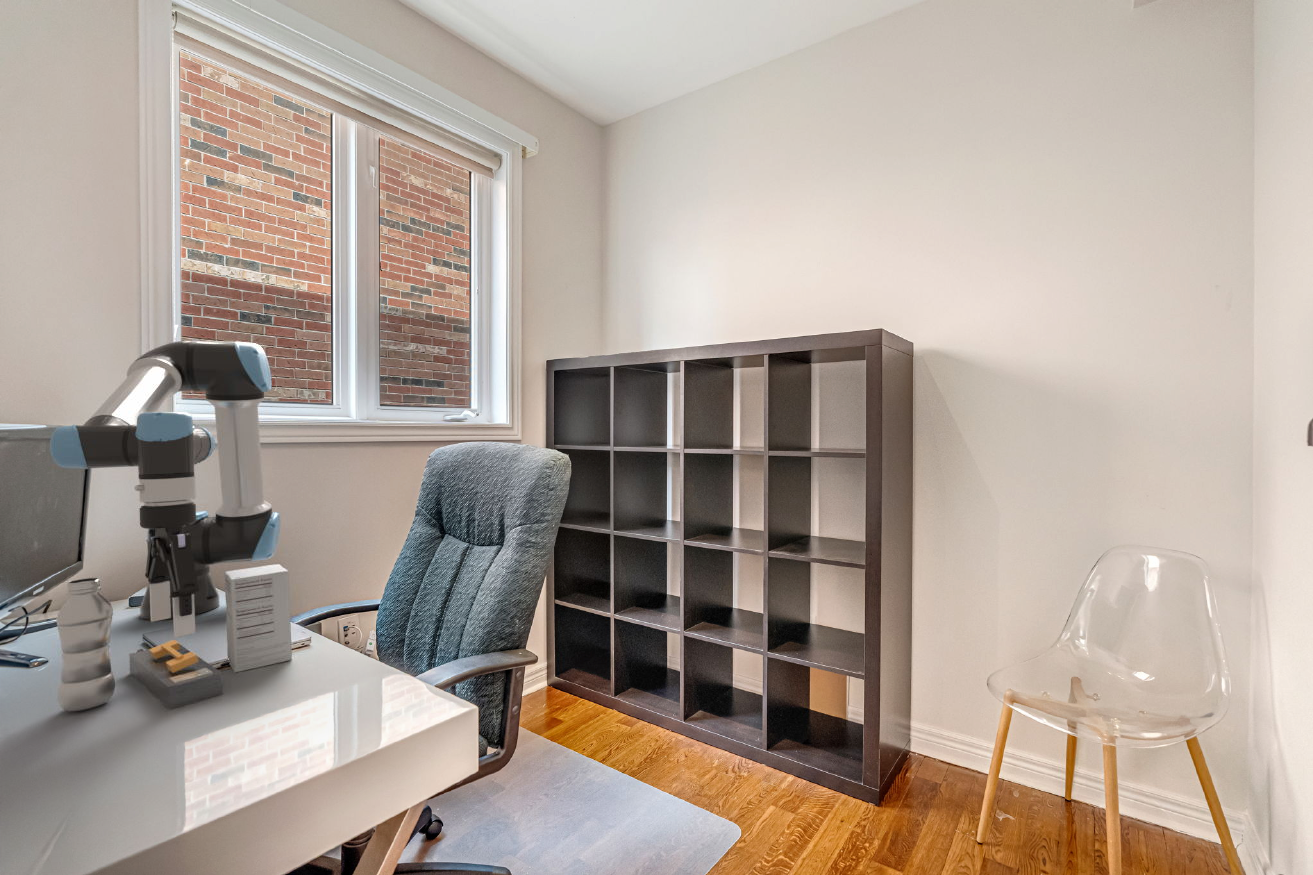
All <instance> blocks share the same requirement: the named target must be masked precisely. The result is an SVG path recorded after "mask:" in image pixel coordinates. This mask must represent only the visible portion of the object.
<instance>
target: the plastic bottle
mask: <svg viewBox="0 0 1313 875" xmlns="http://www.w3.org/2000/svg"><path fill="white" fill-rule="evenodd" d="M100 580H101V579H100V578H99V577H87V578H79V579H73V580H70V581H67V584H66V585H67V586H66V587H67V590H66V595H68V596H69V598H68V599H67V601H65V603H64V604H63V605H62V606H61V608H60V609H59V611H58V613H57V616H56V618H55V620H56V626H57V629H58V630H57V631H58V634H59V638H60V639H59V640H60V643H61V644H60V645H61V653H62V667H61V675H60V676H61V679H60V683H59V688H58V693H57V701H58V705H59V707H60V708H61V709H62V710H64V711H65V712H78V711H79V712H80V711H84V710H88V709H92V708H96V707H98V706H100V705H104V704H105V703H107V702H109V701H110V699H111V698H112V697H113V695H114V694H115V688H116V679H115V676H114V672H113V671H112V665H111V655H110V641H111V640H110V637H111V635H110V634H111V628H112V622H113V615H114V609H113V606H112V604H111V602H110V601H109V600H107V598H105V597H104V596H103V595H102V594H100V593H99V591H100V590H101V589H102V586H101V581H100Z"/></svg>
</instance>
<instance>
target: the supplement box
mask: <svg viewBox="0 0 1313 875" xmlns="http://www.w3.org/2000/svg"><path fill="white" fill-rule="evenodd" d="M289 571H290V570H288V569H286V568H284V567H283V566H282V565H281V564H278V563H277V564H276V563H275V564H269V565H262V566H254V567H249V568H241V569H233V570H227V571H225V572H224V593H225V594H224V595H225V596H224V597H225V605H226V606H225V610H226V617H225V618H226V619H225V620H226V646H227V647H226V648H227V649H226V650H227V659H228V658H229V661H228V663H229V662H230V663H229V665H230V668H232V670H233V673H239V672H243V671H248V670H254V669H256V668H261V667H265V666H269V665H274V664H279V663H284V662H288V661H291V660H293V657H292V655H293V652H292V627H291V626H292V624H291V621H292V620H291V600H290V597H291V594H290V593H291V592H290V572H289Z"/></svg>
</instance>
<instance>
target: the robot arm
mask: <svg viewBox="0 0 1313 875" xmlns="http://www.w3.org/2000/svg"><path fill="white" fill-rule="evenodd" d="M271 390H272V373H271V367H270V364H269V361H268V358H267V355H266V352H265V351H264V349H263V347H261V346H260V345H259V344H257V343H253V342H246V341H245V342H242V341H202V340H200V341H199V340H179V341H174V342H169V343H166V344H163V345H160V346H158V347H156V348H153V349H151V350H149V351H148V352H145V353H144V354H142V355H140V356H139V357H138V358H136V359H135V360H134V361H133V362H132V363H131V364H130V366H129V367H128V369H127V372H126V378H125V380H123V381H122V382H121V384H120V385H119V386H118V387H117V388H116V389H115V391H113V393H112V394H111V395H110V396H109V397H108V398H107V399H106V400H105V401H104V402H103V403H102V404H101V405H100V406H99V408H98V409H97V410H96V411H95V412H94V413H93V415H91V417H90V418H89V419H88V420H87V421H85V423H83V425H79V424H73V425H62V426H59V427H57V428H55V429H54V431H53V432H52V434H51V436H50V439H49V440H50V441H49V451H50V454H51V458H52V460H53V462H54V463H55V464H56V466H58V467H60V468H62V469H63V468H64V469H84V470H88V469H103V468H104V469H106V468H107V469H108V468H127V467H129V468H130V467H137V469H138V484H137V485H135V486H134V490H135V491H136V492H139V493H138V496H139V497H138V498H139V502H140V503H142V504H144V505H142V506H140V507H139V526H140V528H142V529H147V539H146V542H147V555H146V556H147V557H146V568H145V574H144V576H145V578H146V579H147V581H148V583H147V584H148V585H147V588H146V590H145V593H144V596H143V599H142V602H141V604H140V607H139V613H140V616H139V617H140V618H141V619H143V620H148V621H149V620H150V622H157V621H162V620H171V619H173V620H172V622H173V624H172V628H173V637H174V638H177V637H178V638H179V637H182V636H187V635H191V634H195V633H196V618H195V617H196V615H199V614H203V613H207V612H209V611H211V610H214V609H217V608H218V607H219V606H220V595H219V592H218V590H217V588H216V586H215V583H214V581H213V579H212V576H211V573H210V572H211V571H210V565H221V564H222V565H224V564H235V563H247V562H248V563H249V562H251V563H253V562H256V561H262V560H269V559H270V558H271V559H272V557H273V556H274V555H275V554H276V550H277V548H278V544H279V543H278V542H279V538H280V530H281V515H280V513H279V512H276V511H273V506H272V504H271V503H270V502H268V501H267V500H265V498H264V497H265V496H264V493H265V492H264V482H263V481H264V480H263V478H264V477H263V467H262V466H263V465H262V451H261V450H262V449H261V438H260V424H259V423H260V422H259V421H260V419H259V408H258V406H259V405H260V404H261V402H263V401H264V400H265V393H267V392H270V391H271ZM192 391H193V392H204V393H205V400H206V401H207V402H208V403H209V404H211V405H212V406H213V407H214V416H215V417H214V418H215V428H216V441H217V453H218V455H217V456H218V466H219V476H220V478H219V479H220V480H219V481H220V489H221V490H220V492H221V504H220V505H219V507H218V508H217V509H216V510H215V512H214V513H215V516H210V514H209V513H208V511H206V510H202V511H198V510H197V509H196V508H197V505H196V503H195V502H194V501H192V500H195V499H196V498H197V497H196V496H197V494H196V492H197V491H196V475H195V465H197V464H200V463H201V462H204V461H205V460H207V459H209V457H211V455H212V454H213V452H214V450H215V446H216V442H215V438H214V435H213V434H212V433H211V432H210V431H209V430H208V428H207V429H206V428H205V427H203V426H201V425H197V424H195V423H193V416H192V415H191V414H190V413H188V412H182V411H180V412H177V411H161V412H159V411H158V410H159V408H160V407H161V406H162V405H163V403H164V402H165V400H166V399H167V398H170V397H173V396H174V395H176V394H177V393H179V392H180V393H181V392H192Z"/></svg>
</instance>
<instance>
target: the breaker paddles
mask: <svg viewBox="0 0 1313 875" xmlns="http://www.w3.org/2000/svg"><path fill="white" fill-rule="evenodd" d="M179 644H180V643H179V642H178V641H177V640H176V639H171V640H169V641H167V642H165V643H161V644H159V645H157V646H155V647H152V648H149V651H150V654H151V656H152V657H153V658H155V659H157V658H160V657H162V656H165V655H167V654H170V655H172V656H173V657H175V659H172V660H170V661H168V662H166V665H167V668H168V669H169V670H170V671H171V672H172V673H174V672H176V671H178V670H181V669H183V668H185V667H187V666H190V665H192V664H194V663H197V662H199V661H198V658H197V656H198V655H197V654H195V653H194V652H193V651H190V652H189V653H187V654H184V655H182V654H180V653H179V652H177V650H179V649H180V646H179Z"/></svg>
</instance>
